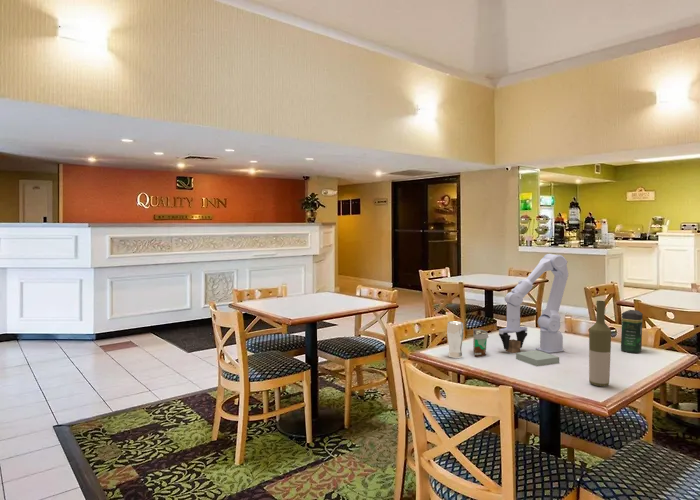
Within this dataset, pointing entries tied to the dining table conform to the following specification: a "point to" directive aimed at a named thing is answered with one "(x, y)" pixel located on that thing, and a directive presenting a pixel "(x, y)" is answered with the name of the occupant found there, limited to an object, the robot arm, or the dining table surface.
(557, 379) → the dining table surface
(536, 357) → the grey platform
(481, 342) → the food container
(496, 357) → the dining table surface
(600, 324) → the bottle
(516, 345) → the walnut block
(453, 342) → the beer glass
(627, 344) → the coffee jar
